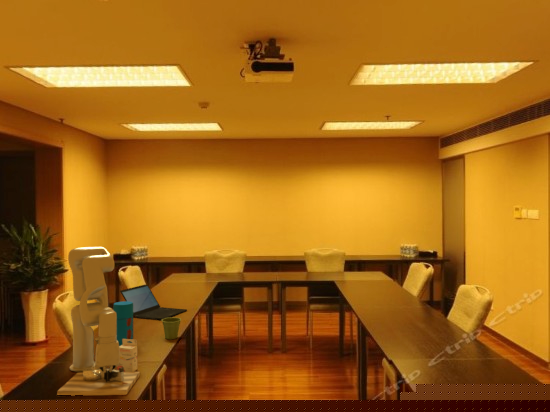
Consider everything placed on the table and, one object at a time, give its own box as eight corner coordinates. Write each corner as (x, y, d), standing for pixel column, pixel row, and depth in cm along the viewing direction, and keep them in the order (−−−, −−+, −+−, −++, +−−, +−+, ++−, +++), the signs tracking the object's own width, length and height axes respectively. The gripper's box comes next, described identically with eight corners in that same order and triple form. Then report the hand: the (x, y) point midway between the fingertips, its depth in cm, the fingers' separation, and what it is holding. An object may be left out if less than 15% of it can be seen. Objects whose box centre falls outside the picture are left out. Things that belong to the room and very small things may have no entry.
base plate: (77, 376, 218) (77, 372, 218) (139, 375, 219) (139, 371, 219) (57, 395, 196) (57, 390, 196) (126, 394, 197) (126, 389, 197)
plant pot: (163, 341, 275) (163, 322, 275) (159, 336, 285) (159, 318, 286) (183, 339, 279) (183, 320, 280) (179, 334, 290) (178, 316, 290)
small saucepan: (78, 379, 208) (78, 366, 208) (92, 372, 217) (92, 360, 217) (117, 384, 202) (117, 371, 202) (129, 377, 210) (129, 365, 210)
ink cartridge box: (116, 371, 225) (116, 341, 225) (122, 368, 230) (122, 338, 230) (132, 372, 223) (132, 342, 223) (137, 369, 228) (137, 339, 228)
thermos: (110, 346, 265) (109, 303, 265) (127, 342, 272) (127, 300, 273) (119, 350, 257) (119, 306, 257) (136, 346, 265) (136, 303, 265)
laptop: (163, 321, 326) (163, 293, 326) (119, 317, 339) (119, 290, 339) (187, 311, 357) (187, 286, 357) (146, 307, 370) (146, 283, 370)
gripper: (89, 343, 199) (89, 386, 199) (125, 339, 204) (125, 381, 204) (89, 338, 206) (89, 380, 206) (124, 335, 211) (124, 375, 211)
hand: (107, 380), depth 205 cm, fingers closed
